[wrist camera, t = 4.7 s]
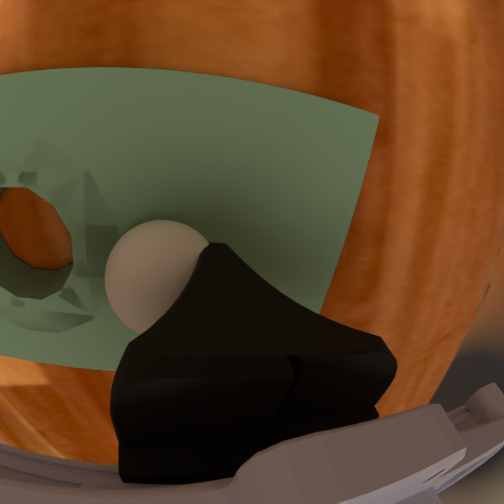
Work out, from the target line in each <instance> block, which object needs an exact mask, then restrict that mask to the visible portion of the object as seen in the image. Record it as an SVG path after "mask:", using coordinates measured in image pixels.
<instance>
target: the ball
mask: <svg viewBox="0 0 504 504" xmlns="http://www.w3.org/2000/svg"><path fill="white" fill-rule="evenodd" d="M208 245H209V242H208V241H207V240H206V239H205V238H204V237H203V236H202V235H201V234H200V233H199V232H198V231H196V230H194V229H193V228H191V227H189V226H187V225H185V224H183V223H180V222H176V221H170V220H154V221H149V222H146V223H143V224H140V225H138V226H136V227H134V228H132V229H131V230H129V231H128V232H127V233H126V234H124V235H123V236H122V237H121V238H120V239H119V240H118V242H117V243H116V244H115V246H114V247H113V249H112V251H111V253H110V255H109V258H108V261H107V264H106V269H105V289H106V294H107V297H108V300H109V303H110V305H111V307H112V309H113V310H114V312H115V313H116V315H117V316H118V317H119V319H120V320H121V321H122V322H123V323H124V324H125V325H127V326H128V327H129V328H130V329H132V330H134V331H135V332H137V333H139V334H142V333H143V332H144V331H146V330H147V329H148V328H150V327H151V326H152V325H153V324H154V323H155V322H156V321H157V320H158V319H159V318H160V317H161V316H163V315H164V314H165V313H166V311H167V310H168V309H169V308H170V307H171V306H172V304H173V303H174V302H175V301H176V300H177V298H178V297H179V295H180V294H181V293H182V291H183V290H184V288H185V286H186V285H187V283H188V281H189V279H190V277H191V275H192V273H193V271H194V269H195V266H196V264H197V261H198V258H199V255H200V253H201V252H202V251H203V249H204V248H205V247H207V246H208Z"/></svg>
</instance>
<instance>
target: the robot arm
mask: <svg viewBox="0 0 504 504" xmlns="http://www.w3.org/2000/svg"><path fill="white" fill-rule="evenodd" d="M396 371H397V360H396V359H395V357H394V356H393V354H392V353H391V351H390V350H389V348H388V347H387V345H386V344H385V342H384V341H383V340H382V338H381V337H379V336H376V335H373V334H370V333H366V332H363V331H360V330H357V329H353V328H350V327H348V326H345V325H343V324H340V323H338V322H335V321H333V320H330V319H328V318H326V317H324V316H321V315H319V314H317V313H315V312H313V311H312V310H310V309H308V308H306V307H304V306H302V305H300V304H299V303H297V302H295V301H294V300H292V299H291V298H289V297H288V296H286V295H284V294H283V293H281V292H280V291H279V290H277V289H276V288H274V287H273V286H272V285H271V284H269V283H268V282H267V281H266V280H264V279H263V278H262V277H261V276H259V275H258V274H257V273H256V272H255V271H254V270H253V269H252V268H251V267H249V266H248V265H247V264H246V263H245V262H244V261H243V260H242V259H241V258H240V257H239V256H238V255H237V254H236V253H235V252H234V251H233V250H232V249H231V248H230V247H229V246H228V245H227V244H226V243H216V242H209V245H208V246H207V247H205V248H204V249H203V251H202V252H201V253H200V255H199V258H198V261H197V264H196V266H195V269H194V271H193V273H192V275H191V277H190V279H189V281H188V283H187V285H186V286H185V288H184V290H183V291H182V293H181V294H180V295H179V297H178V298H177V300H176V301H175V302H174V303H173V304H172V306H171V307H170V308H169V309H168V310H167V311H166V313H165V314H164V315H163V316H161V317H160V318H159V319H158V320H157V321H156V322H155V323H154V324H153V325H152V326H151V327H150V328H148V329H147V330H146V331H144V332H143V333H142V334H140V335H139V336H138V337H136V338H135V339H133V340H132V341H131V342H129V343H128V345H127V347H126V349H125V351H124V353H123V355H122V358H121V360H120V362H119V365H118V367H117V370H116V373H115V376H114V380H113V384H112V389H111V401H110V415H111V419H112V422H113V426H114V429H115V432H116V436H117V439H118V442H119V466H115V465H105V464H96V463H89V462H82V461H75V460H69V459H64V458H58V457H53V456H48V455H44V454H39V453H35V452H31V451H26V450H23V449H19V448H15V447H11V446H8V445H4V444H1V443H0V504H441V502H440V500H439V498H438V496H437V493H439V492H441V491H442V490H444V489H446V488H447V487H449V486H450V485H452V484H454V483H455V482H456V481H458V480H459V479H461V478H463V477H464V476H466V475H467V474H468V473H470V472H471V471H473V470H474V469H476V468H477V467H478V466H480V465H481V464H482V463H484V462H485V461H486V460H488V459H489V458H490V457H491V456H492V455H493V454H495V453H496V452H497V451H498V450H499V449H501V448H502V447H503V446H504V395H503V393H502V392H501V390H500V389H499V388H498V387H497V385H496V384H495V383H491V384H489V385H487V386H485V387H483V388H481V389H479V390H478V391H477V392H475V393H474V394H473V395H472V396H471V397H470V399H469V400H468V401H467V402H466V405H463V406H461V407H459V408H457V409H455V410H452V411H450V412H448V413H445V411H444V410H443V408H442V407H441V405H440V404H428V405H421V406H418V407H415V408H412V409H409V410H405V411H402V412H399V413H396V414H392V415H389V416H385V417H382V418H379V414H378V412H377V410H376V408H375V404H376V403H377V402H378V401H379V399H380V398H381V397H382V395H383V394H384V393H385V391H386V390H387V389H388V387H389V386H390V384H391V383H392V381H393V379H394V377H395V374H396Z"/></svg>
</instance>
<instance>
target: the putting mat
mask: <svg viewBox="0 0 504 504" xmlns="http://www.w3.org/2000/svg"><path fill="white" fill-rule="evenodd" d="M379 117H380V116H378V115H376V114H373V113H370V112H367V111H364V110H361V109H358V108H355V107H352V106H348V105H345V104H342V103H339V102H335V101H332V100H328V99H325V98H321V97H317V96H314V95H310V94H306V93H302V92H298V91H294V90H290V89H286V88H281V87H277V86H272V85H267V84H262V83H257V82H252V81H247V80H241V79H235V78H229V77H223V76H216V75H209V74H201V73H193V72H183V71H173V70H161V69H145V68H119V67H89V68H63V69H49V70H37V71H28V72H19V73H12V74H5V75H0V197H1V195H2V192H3V189H4V187H27V188H28V189H30V190H31V191H33V192H34V193H36V194H37V195H39V196H40V197H41V198H43V199H44V200H46V201H47V202H49V203H50V204H52V205H53V206H54V207H55V209H56V211H57V213H58V214H59V216H60V218H61V219H62V221H63V223H64V225H65V226H66V228H67V230H68V231H69V233H70V235H71V242H72V254H73V262H72V263H70V264H68V265H66V266H65V267H63V268H61V269H59V270H57V271H54V270H42V269H34V268H32V267H30V266H29V265H27V264H26V263H24V262H23V261H21V260H20V259H18V258H17V257H15V256H14V255H13V254H12V252H11V251H10V249H9V247H8V246H7V244H6V243H5V241H4V239H3V238H2V236H1V234H0V355H3V356H8V357H13V358H18V359H23V360H29V361H35V362H41V363H48V364H54V365H61V366H69V367H77V368H86V369H95V370H106V371H116V370H117V367H118V365H119V362H120V360H121V358H122V355H123V353H124V351H125V349H126V347H127V345H128V343H129V342H131V341H132V340H133V339H135V338H136V337H138V336H139V335H140V334H139V333H137V332H135V331H134V330H132V329H130V328H129V327H128V326H127V325H125V324H124V323H123V322H122V321H121V320H120V319H119V317H118V316H117V315H116V313H115V312H114V310H113V309H112V307H111V305H110V303H109V300H108V297H107V294H106V289H105V269H106V264H107V261H108V258H109V255H110V253H111V251H112V249H113V247H114V246H115V244H116V243H117V242H118V240H119V239H120V238H121V237H122V236H123V235H124V234H126V233H127V232H128V231H129V230H131V229H132V228H134V227H136V226H138V225H140V224H143V223H146V222H149V221H154V220H170V221H176V222H180V223H183V224H185V225H187V226H189V227H191V228H193V229H194V230H196V231H198V232H199V233H200V234H201V235H202V236H203V237H204V238H205V239H206V240H207V241H208V242H216V243H226V244H227V245H228V246H229V247H230V248H231V249H232V250H233V251H234V252H235V253H236V254H237V255H238V256H239V257H240V258H241V259H242V260H243V261H244V262H245V263H246V264H247V265H248V266H249V267H251V268H252V269H253V270H254V271H255V272H256V273H257V274H258V275H259V276H261V277H262V278H263V279H264V280H266V281H267V282H268V283H269V284H271V285H272V286H273V287H274V288H276V289H277V290H279V291H280V292H281V293H283V294H284V295H286V296H288V297H289V298H291V299H292V300H294V301H295V302H297V303H299V304H300V305H302V306H304V307H306V308H308V309H310V310H312V311H313V312H315V313H317V314H319V313H320V310H321V308H322V305H323V302H324V300H325V297H326V294H327V291H328V289H329V286H330V283H331V280H332V277H333V275H334V272H335V269H336V266H337V263H338V260H339V257H340V254H341V251H342V248H343V245H344V242H345V239H346V236H347V233H348V230H349V226H350V223H351V220H352V217H353V213H354V210H355V207H356V204H357V200H358V197H359V193H360V190H361V186H362V183H363V179H364V176H365V172H366V169H367V165H368V161H369V157H370V154H371V150H372V146H373V142H374V138H375V134H376V130H377V126H378V122H379Z"/></svg>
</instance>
